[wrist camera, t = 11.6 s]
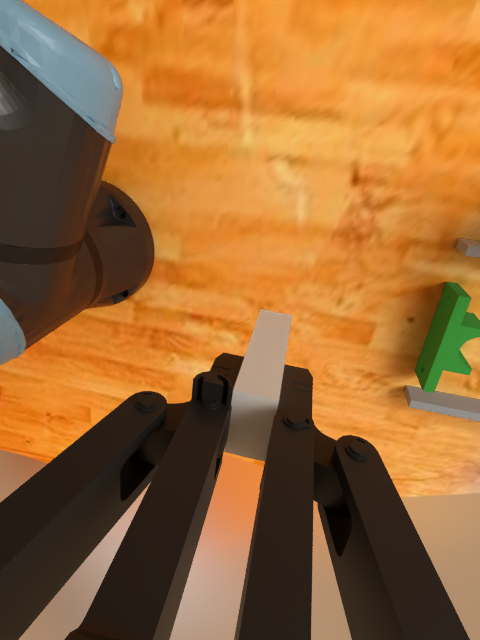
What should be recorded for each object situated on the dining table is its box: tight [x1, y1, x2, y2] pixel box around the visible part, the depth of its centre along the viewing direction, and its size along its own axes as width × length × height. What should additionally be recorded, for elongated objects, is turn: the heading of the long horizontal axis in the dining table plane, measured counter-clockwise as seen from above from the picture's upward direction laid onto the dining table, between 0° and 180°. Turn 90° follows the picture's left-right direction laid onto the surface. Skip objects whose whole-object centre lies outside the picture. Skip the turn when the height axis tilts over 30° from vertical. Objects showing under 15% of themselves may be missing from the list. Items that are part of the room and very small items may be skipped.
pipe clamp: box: [415, 282, 480, 393], centre depth 40 cm, size 11×4×5 cm, turn 174°
